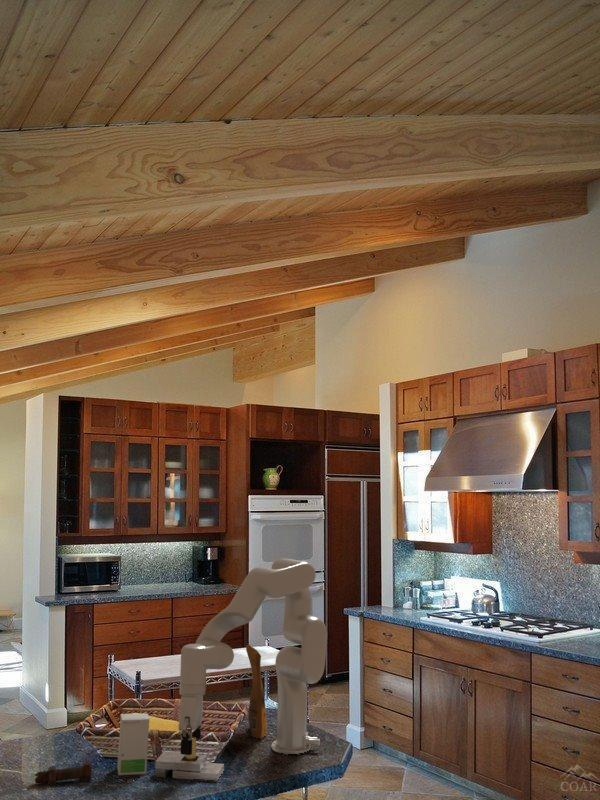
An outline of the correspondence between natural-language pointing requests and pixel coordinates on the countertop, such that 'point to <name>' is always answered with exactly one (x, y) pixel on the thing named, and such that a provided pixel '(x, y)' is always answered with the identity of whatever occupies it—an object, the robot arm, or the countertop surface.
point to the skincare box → (133, 744)
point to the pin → (193, 755)
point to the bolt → (64, 774)
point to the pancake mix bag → (256, 697)
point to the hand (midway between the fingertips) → (190, 748)
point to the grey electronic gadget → (187, 767)
